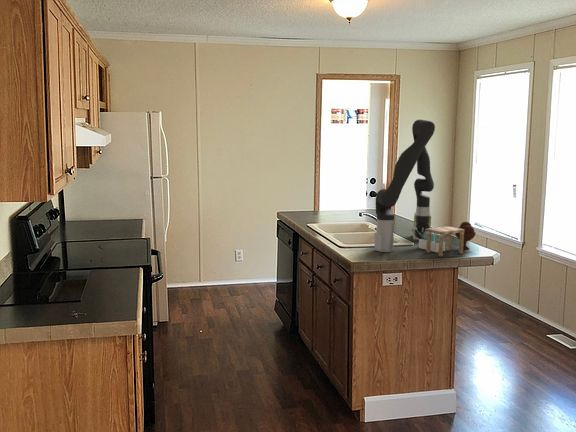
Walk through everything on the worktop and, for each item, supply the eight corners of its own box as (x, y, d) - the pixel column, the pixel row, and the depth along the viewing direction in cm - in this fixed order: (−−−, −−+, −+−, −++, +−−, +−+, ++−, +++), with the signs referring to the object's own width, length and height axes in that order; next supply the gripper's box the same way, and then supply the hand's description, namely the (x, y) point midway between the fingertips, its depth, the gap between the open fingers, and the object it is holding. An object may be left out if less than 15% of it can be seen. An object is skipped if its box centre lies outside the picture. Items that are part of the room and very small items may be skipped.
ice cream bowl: (450, 247, 340) (451, 221, 337) (466, 246, 344) (468, 220, 341) (461, 251, 330) (463, 224, 328) (478, 249, 334) (480, 223, 332)
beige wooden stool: (440, 256, 316) (441, 231, 314) (426, 252, 326) (427, 228, 324) (463, 253, 324) (464, 229, 322) (448, 249, 334) (449, 226, 332)
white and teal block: (436, 252, 327) (437, 235, 325) (418, 247, 339) (419, 231, 337) (444, 251, 330) (445, 235, 328) (426, 246, 342) (427, 231, 340)
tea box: (430, 240, 360) (431, 215, 358) (413, 239, 362) (414, 215, 360) (429, 236, 375) (430, 212, 372) (413, 235, 377) (414, 211, 374)
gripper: (418, 216, 332) (417, 247, 334) (436, 214, 338) (434, 245, 341) (409, 214, 338) (407, 245, 341) (426, 212, 345) (425, 242, 347)
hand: (421, 245), depth 341 cm, fingers closed
